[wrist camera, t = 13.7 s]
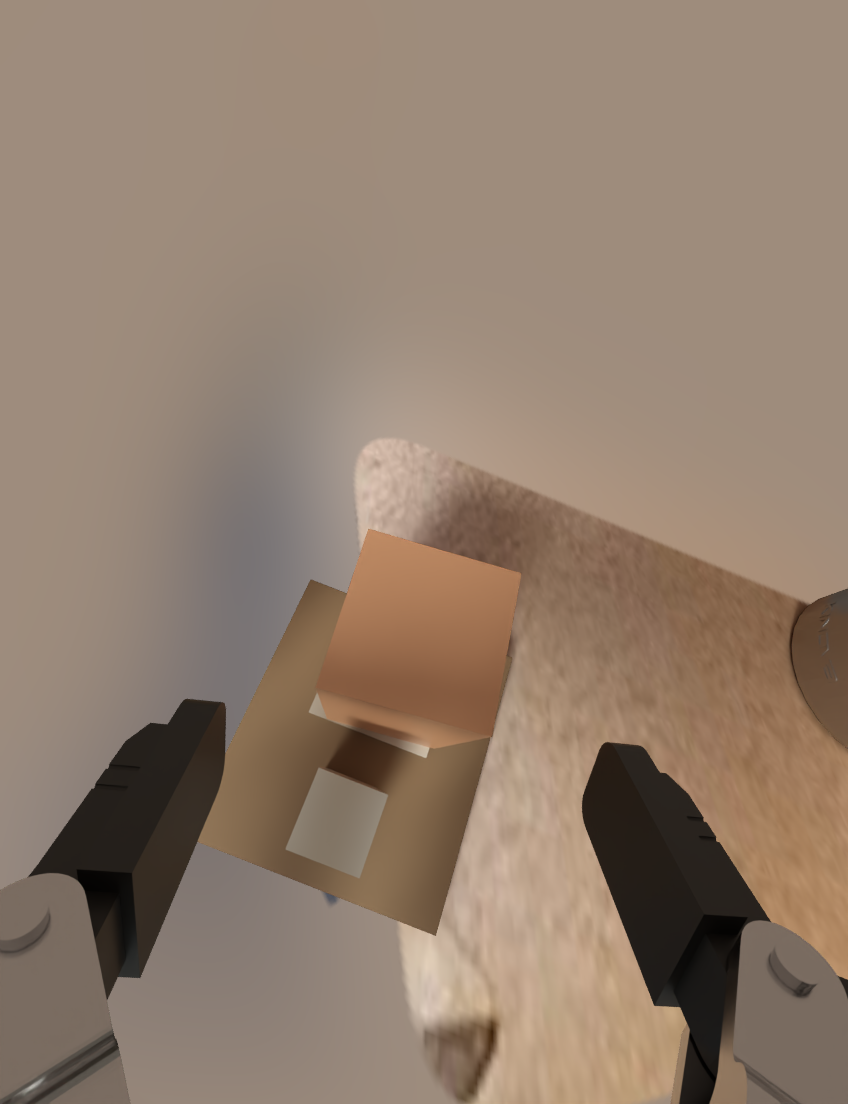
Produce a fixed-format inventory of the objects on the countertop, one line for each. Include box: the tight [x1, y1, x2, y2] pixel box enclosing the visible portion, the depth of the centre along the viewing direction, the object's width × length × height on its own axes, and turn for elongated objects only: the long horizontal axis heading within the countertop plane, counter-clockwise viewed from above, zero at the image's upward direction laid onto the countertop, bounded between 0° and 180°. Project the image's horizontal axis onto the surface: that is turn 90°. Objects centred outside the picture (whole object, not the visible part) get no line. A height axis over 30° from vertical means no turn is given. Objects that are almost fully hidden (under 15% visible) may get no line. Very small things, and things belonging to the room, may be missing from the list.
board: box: [197, 580, 512, 936], centre depth 19 cm, size 10×11×7 cm
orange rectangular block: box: [315, 529, 521, 749], centre depth 18 cm, size 5×5×9 cm
